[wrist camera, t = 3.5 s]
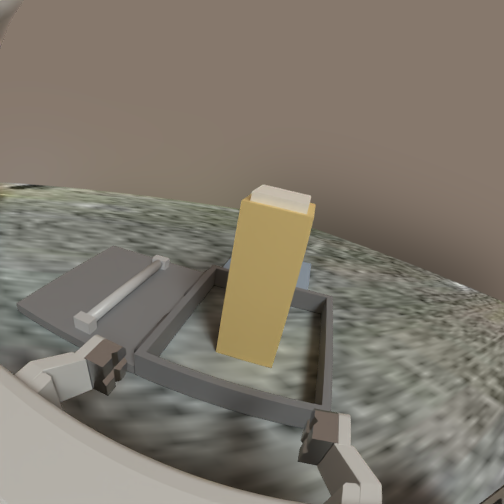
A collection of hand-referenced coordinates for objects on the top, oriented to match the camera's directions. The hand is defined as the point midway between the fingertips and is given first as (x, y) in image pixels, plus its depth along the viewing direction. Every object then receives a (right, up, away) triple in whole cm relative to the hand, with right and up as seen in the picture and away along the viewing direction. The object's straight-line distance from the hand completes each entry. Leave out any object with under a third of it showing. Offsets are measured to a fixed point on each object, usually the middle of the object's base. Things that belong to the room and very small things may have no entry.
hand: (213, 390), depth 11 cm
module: (+1, -2, +14) cm, 14 cm away
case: (-5, 0, +15) cm, 16 cm away
